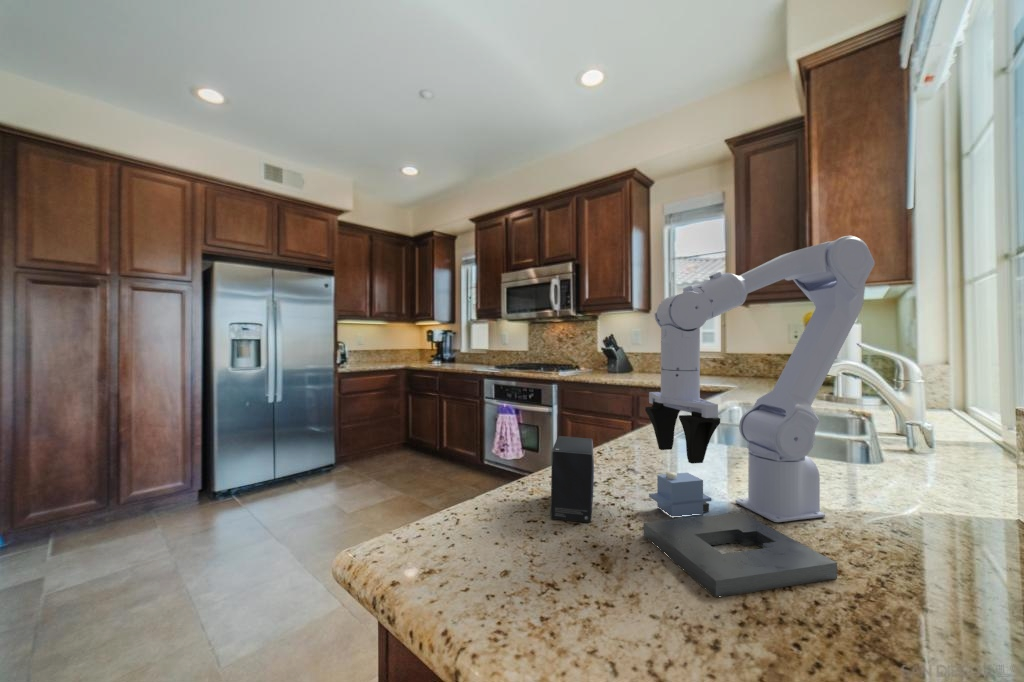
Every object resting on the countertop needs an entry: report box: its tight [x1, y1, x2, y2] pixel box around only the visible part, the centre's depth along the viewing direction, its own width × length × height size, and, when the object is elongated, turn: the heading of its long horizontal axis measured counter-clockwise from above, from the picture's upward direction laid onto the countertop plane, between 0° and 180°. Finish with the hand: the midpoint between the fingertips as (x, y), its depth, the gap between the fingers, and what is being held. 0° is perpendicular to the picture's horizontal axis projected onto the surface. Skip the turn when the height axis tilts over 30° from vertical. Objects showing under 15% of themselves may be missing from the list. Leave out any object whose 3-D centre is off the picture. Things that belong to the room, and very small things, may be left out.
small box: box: [549, 435, 595, 523], centre depth 65 cm, size 11×6×10 cm, turn 168°
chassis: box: [642, 511, 838, 598], centre depth 51 cm, size 16×14×2 cm
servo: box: [648, 471, 712, 516], centre depth 64 cm, size 9×4×6 cm, turn 103°
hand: (679, 455), depth 64 cm, fingers open, 7 cm apart
